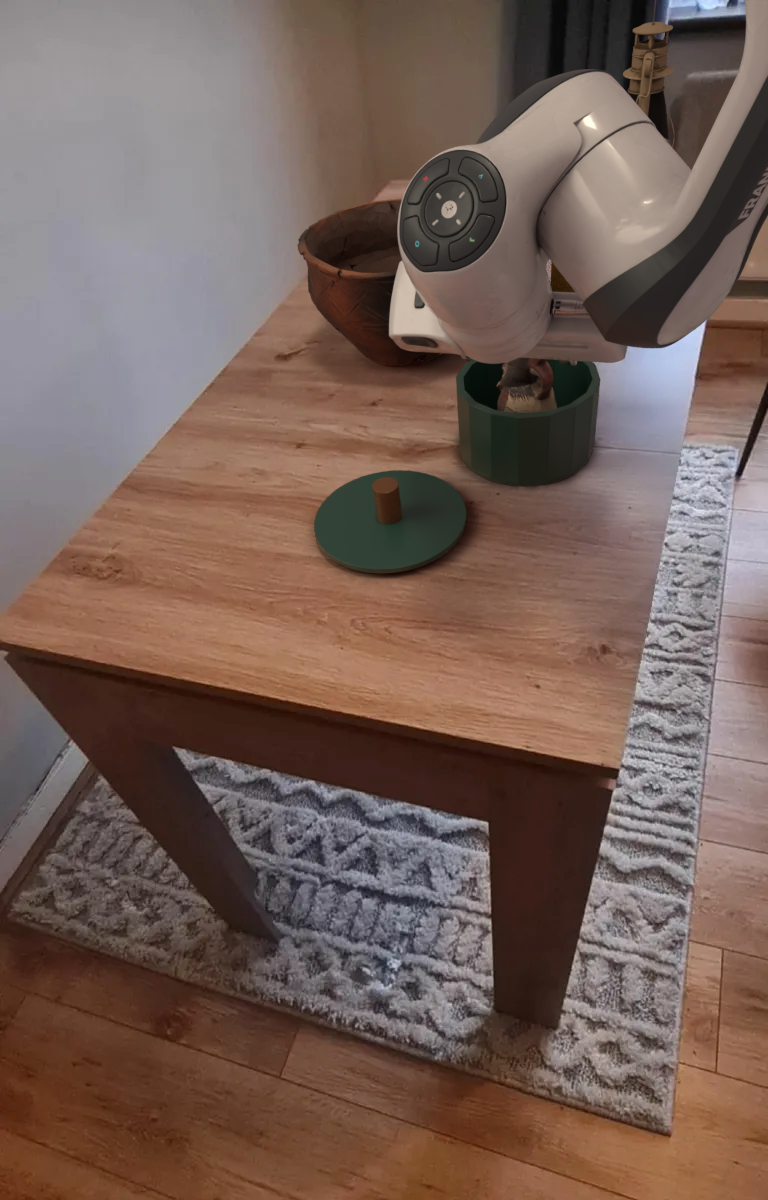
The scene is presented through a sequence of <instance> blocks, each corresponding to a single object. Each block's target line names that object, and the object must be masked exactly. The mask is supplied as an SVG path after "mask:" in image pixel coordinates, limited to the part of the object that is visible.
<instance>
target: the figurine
mask: <svg viewBox="0 0 768 1200" xmlns="http://www.w3.org/2000/svg"><path fill="white" fill-rule="evenodd" d="M547 360H548V359H535V358H517V359H515V360H512V361H509V362H505V363H504V364H503V365H502V369H503V376H502V379H501V381H499V382H498V384H497V388H499V389H500V390H501V394H500V396H499V399H498V407H497V410H498V411H505V412H512V413H519V414H520V413H532V412H545V411H550V410H553V409H556V408H557V405H556V399H555V394H554V390H553V387H552V384H553V372H552V369H551V367H550V365H549V364H548V362H547Z"/></svg>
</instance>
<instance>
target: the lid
mask: <svg viewBox="0 0 768 1200" xmlns="http://www.w3.org/2000/svg"><path fill="white" fill-rule="evenodd" d="M467 513H468V511H467V506H466V504H465V501H464V498H463V497H462V495H461V493H460V492H459V491H458V490H457V489H456V488H455V487H454V486H452V485H451V483H449V482H447V481H445V480H444V479H442V478H440V477H437V476H435V475H432V474H429V473H425V472H421V471H415V470H402V469H401V470H400V469H398V470H384V471H377V472H373V473H370V474H366V475H362V476H360V477H356V478H354V479H351V480H350V481H348V482H346V483H344V484H343V485H341V486H339V487H338V488H336V489H335V490H334V491H332V493H330V494H329V495H328V496H326V498H325V499H324V500H323V502H322V503H321V504H320V506H319V507H318V510H317V512H316V514H315V518H314V522H313V531H314V536H315V539H316V542H317V545H318V546H319V548H320V549H321V551H322V552H323V554H325V555H326V557H329V559H330V560H332V561H333V562H335V563H337V564H338V565H341V566H342V567H345V568H347V569H351V570H353V571H357V572H363V573H368V574H370V573H371V574H393V573H402V572H407V571H410V570H414V569H418V568H421V567H423V566H425V565H428V564H431V563H432V562H434V561H436V560H438V559H440V558H441V557H443V556H444V555H445V554H447V553H448V552H449V551H450V550H451V549H453V548H454V547H455V545H457V543H458V542H459V540H460V539H461V538H462V536H463V534H464V531H465V530H466V525H467V519H468V518H467V516H468V514H467Z"/></svg>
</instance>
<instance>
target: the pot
mask: <svg viewBox="0 0 768 1200" xmlns="http://www.w3.org/2000/svg"><path fill="white" fill-rule="evenodd" d="M547 362H548V364H549V365H550V367H551V369H552V372H553V384H552V387H553V390H554V394H555V399H556V405H557V408H556V409H553V410H550V411H545V412H532V413H520V414H519V413H512V412H505V411H498V410H497V407H498V399H499V396H500V394H501V390H500V389H499V388H497V384H498V382H499V381H501V379H502V376H503V369H502V365H503V364H504V363H498V364H488V363H482V362H478V361H476V360H473V359H469V360H468V361H467V362H465V363H464V364H463V367H462V368H461V369H460V371H459V372H458V373H457V375H456V376H455V382H456V385H455V386H456V401H457V402H456V403H457V418H458V419H457V422H458V442H459V443H458V444H459V454H460V458H461V459H462V461H463V463H464V464H465V466H466V467H467V468H468V469H469V470H470V471H471V472H472V473H474V474H475V475H477V476H479V477H481V478H483V479H484V480H487V481H490V482H493V483H496V484H501V485H506V486H512V487H513V486H514V487H535V486H544V485H549V484H552V483H557V482H560V481H562V480H565V479H567V478H569V477H570V476H573V475H574V474H576V473H577V472H578V471H580V470H581V469H583V467H585V465H586V464H587V463H588V461H589V460H590V459H591V457H592V454H593V450H594V446H595V442H596V433H597V432H596V431H597V420H598V411H599V400H600V399H599V398H600V390H601V388H600V387H601V377H600V374H599V370H598V368H597V365H596V364H595V362H586V361H577V365H563V364H560V361H559V360H552V359H548V360H547Z"/></svg>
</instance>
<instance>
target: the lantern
mask: <svg viewBox="0 0 768 1200" xmlns="http://www.w3.org/2000/svg"><path fill="white" fill-rule="evenodd" d="M656 6H657V0H654V7H653V17H652V21H651V22H646V23H643V24H641V25H639V26H637V27H634V28H633V29H632V33H634V34H635V38H634V46H633V49H632V54H631V56H632V58H631V67H629V68H628V69H625V70H624V71H623V73H622V76H623V77H624V78H626V79H630V80H629V87H628V89H627V93H628V94H629V96H630V97H631V98H632V99H633V100H634V101H635V103H636V104H637V105H638V106H639V107H640V108H641V110H642V111H643V112H644V113H645V114H646V115H647V117H648V118H649V119H650V120H651V121H652V122H653V123H654V125H655V126H656V128H657V130H658V132H659V133H660V134H661V135H662V136H663V137H664V139H665V140H666V141H667V142H668V143H669V145H670V146H671V147H672V148H673V149H674V144H675V128H674V124H673V121H672V118H671V117H670V115H669V113H668V112H667V103H666V97H665V91H664V90H665V89H666V87H665V85H664V84H665V78H666V77H668V76H670V75H672V74H673V73H674V69H673V67H671V66H669V65H667V60H668V59H667V58H668V53H669V51H668V50H669V44H668V40H669V33H670V31H672V30H673V28H674V26H673V25H671V24H666V23H665V22H662V21H655V17H656V16H655V15H656ZM661 34H664V36H663V39H660V38H657V36H656V35H661ZM641 35H642V36H648V37H647V39H643V40H641V39H640V36H641ZM668 119H669V121H670V124H671V128H672V134H673V138H672V144H671V141H670V139H669V138H670V137H669V123H668Z"/></svg>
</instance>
